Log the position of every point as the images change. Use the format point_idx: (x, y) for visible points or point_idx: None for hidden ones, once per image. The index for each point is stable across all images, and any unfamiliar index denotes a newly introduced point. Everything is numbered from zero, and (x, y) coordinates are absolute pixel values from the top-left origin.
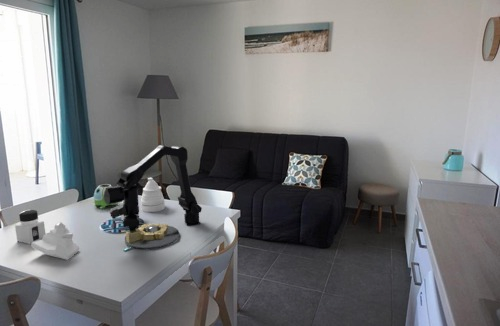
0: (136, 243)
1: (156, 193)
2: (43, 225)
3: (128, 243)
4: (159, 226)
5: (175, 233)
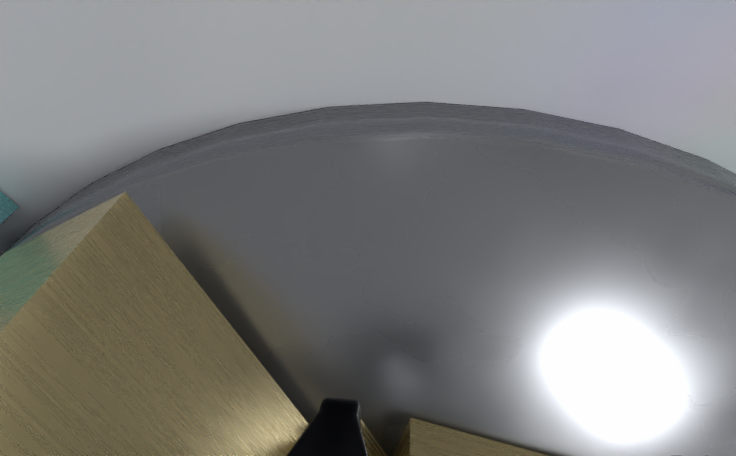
0: None
1: None
2: None
3: (52, 221)
4: None
5: None
